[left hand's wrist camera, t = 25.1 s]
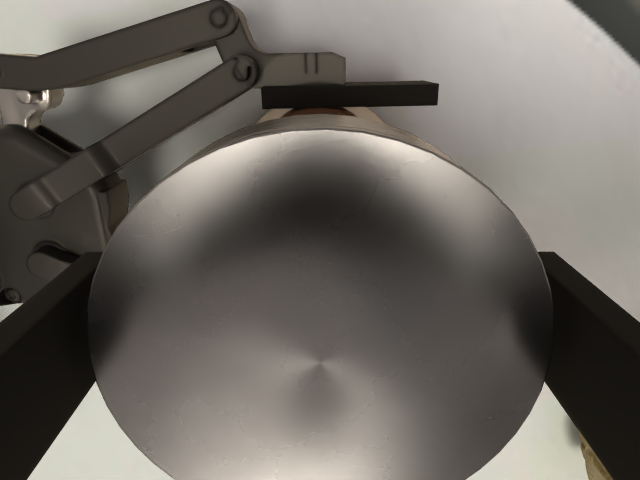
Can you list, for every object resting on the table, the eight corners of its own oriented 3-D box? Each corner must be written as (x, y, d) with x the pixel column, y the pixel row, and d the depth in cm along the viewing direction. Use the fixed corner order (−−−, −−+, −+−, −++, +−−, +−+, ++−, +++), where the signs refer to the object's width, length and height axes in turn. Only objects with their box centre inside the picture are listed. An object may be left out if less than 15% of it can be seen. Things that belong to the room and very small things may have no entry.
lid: (415, 24, 10) (443, 14, 7) (562, 370, 13) (611, 433, 11) (46, 239, 12) (-19, 281, 9) (258, 493, 15) (248, 568, 13)
